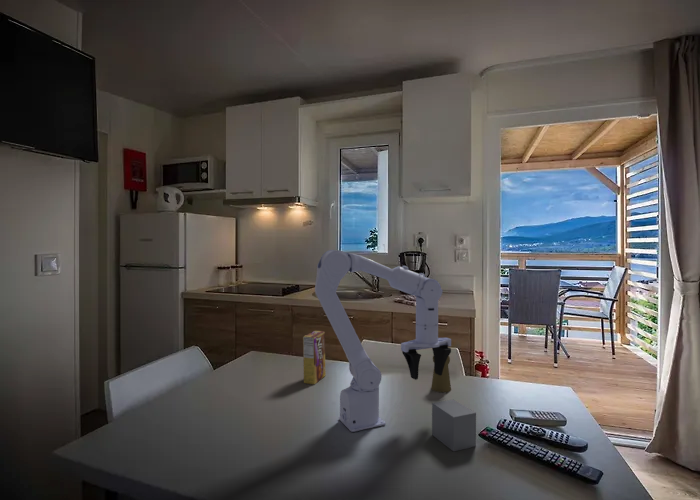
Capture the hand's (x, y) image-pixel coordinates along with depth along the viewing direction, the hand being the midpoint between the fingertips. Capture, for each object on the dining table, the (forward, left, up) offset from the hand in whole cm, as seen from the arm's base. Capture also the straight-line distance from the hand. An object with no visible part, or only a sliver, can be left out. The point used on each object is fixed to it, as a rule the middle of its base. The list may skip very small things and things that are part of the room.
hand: (426, 376), depth 99 cm
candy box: (-17, +38, -11) cm, 43 cm away
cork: (+16, +14, -11) cm, 24 cm away
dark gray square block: (-2, -13, -10) cm, 16 cm away
